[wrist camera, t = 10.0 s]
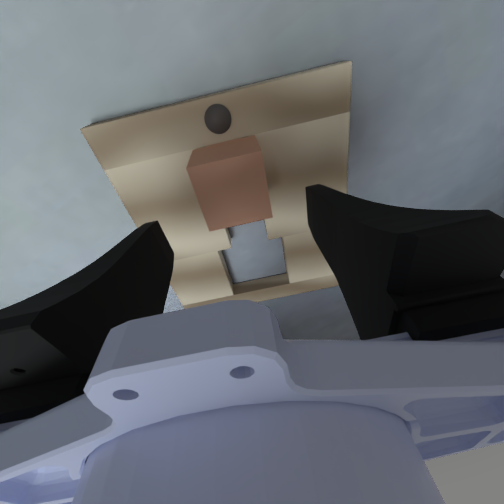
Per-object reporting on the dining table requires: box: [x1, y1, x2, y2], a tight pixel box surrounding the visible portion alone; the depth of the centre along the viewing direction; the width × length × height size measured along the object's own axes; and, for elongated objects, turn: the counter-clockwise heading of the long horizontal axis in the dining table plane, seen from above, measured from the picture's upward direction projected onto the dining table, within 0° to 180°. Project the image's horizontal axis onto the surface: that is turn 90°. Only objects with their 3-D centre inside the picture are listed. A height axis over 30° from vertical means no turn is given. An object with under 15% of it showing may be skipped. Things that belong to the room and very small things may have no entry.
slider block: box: [186, 135, 273, 232], centre depth 16 cm, size 4×4×5 cm
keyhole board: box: [80, 61, 352, 309], centre depth 20 cm, size 18×16×2 cm
